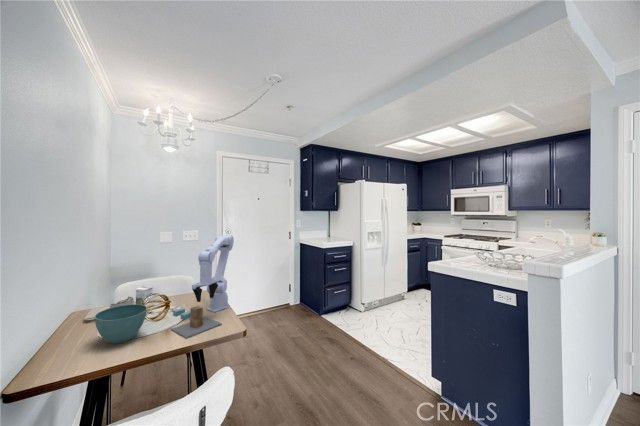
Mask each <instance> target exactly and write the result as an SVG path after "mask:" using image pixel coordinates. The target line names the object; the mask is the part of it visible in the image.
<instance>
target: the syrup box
mask: <svg viewBox="0 0 640 426" xmlns="http://www.w3.org/2000/svg"><path fill="white" fill-rule="evenodd" d="M153 291H154V289H153V286H149V285H142V286H139V287H137V288H135V304H138V305H141V302H142V301H143V299H145V298H146V297H147V296H149V295H152V294H153V293H154V292H153ZM149 300H152V301H153V295H152V297H150V298H147V300H146V301H149Z"/></svg>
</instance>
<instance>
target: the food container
mask: <svg viewBox="0 0 640 426" xmlns="http://www.w3.org/2000/svg"><path fill="white" fill-rule="evenodd" d="M132 304H135V299H134V297H132V296H128V297H127V298H126V299H123V300H120V301H118V302H116V303H110V305H109V306H110V308H112V307H117V306H122V305H132Z"/></svg>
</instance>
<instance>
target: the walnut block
mask: <svg viewBox="0 0 640 426" xmlns="http://www.w3.org/2000/svg"><path fill="white" fill-rule="evenodd" d="M189 311H190V318H189V322H190V327H193V328H197V327H200V326H202V325H203V318H204V317H203V314H204V307H203V306H200V305H195V306H192V307H191V308H190V310H189Z"/></svg>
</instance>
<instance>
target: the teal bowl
mask: <svg viewBox="0 0 640 426" xmlns="http://www.w3.org/2000/svg"><path fill="white" fill-rule="evenodd" d="M146 312H147V307H146V306H144V305H138V304H136V303H133V304H132V305H122V306H117V307H112V308H109V309H106V310H103V311H101V312H99V313H97V314H96V315H95V322H94V323H95V327H96V330H97V332H98V334H99V335H100V337H102V338H103V339H104V340H105V341H106V342H107V343H108V344H109V343H110V344H112V345H116V344H117V345H118V344H123V343H125V342H129V341H130V340H132V339H133V338H134V337H135V336H136V334H137V333H138V332H139V331H140V330H141V328H142V326H143V324H144V322H145V319H146V316H147V315H146Z"/></svg>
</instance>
